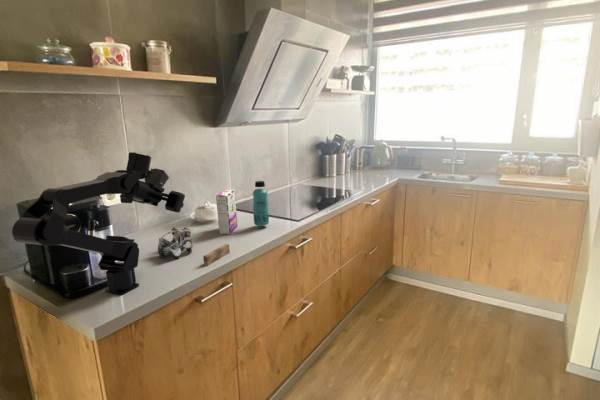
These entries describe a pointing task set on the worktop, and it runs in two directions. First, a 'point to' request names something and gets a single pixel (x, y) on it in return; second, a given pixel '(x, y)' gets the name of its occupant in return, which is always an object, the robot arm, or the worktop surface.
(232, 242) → the worktop surface
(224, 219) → the candy bar box
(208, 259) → the bar
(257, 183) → the beverage bottle
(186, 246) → the foil
